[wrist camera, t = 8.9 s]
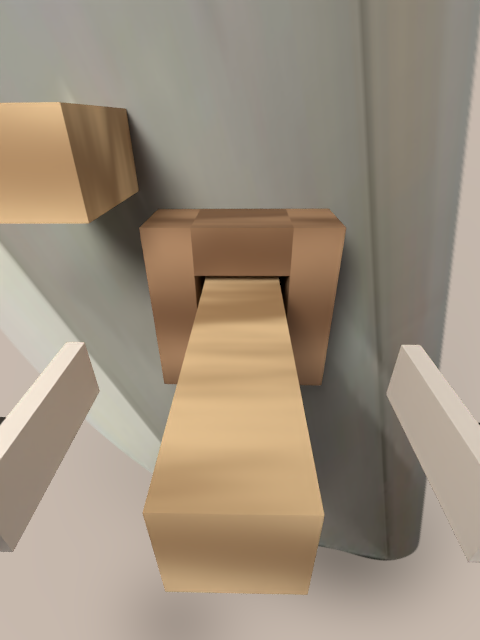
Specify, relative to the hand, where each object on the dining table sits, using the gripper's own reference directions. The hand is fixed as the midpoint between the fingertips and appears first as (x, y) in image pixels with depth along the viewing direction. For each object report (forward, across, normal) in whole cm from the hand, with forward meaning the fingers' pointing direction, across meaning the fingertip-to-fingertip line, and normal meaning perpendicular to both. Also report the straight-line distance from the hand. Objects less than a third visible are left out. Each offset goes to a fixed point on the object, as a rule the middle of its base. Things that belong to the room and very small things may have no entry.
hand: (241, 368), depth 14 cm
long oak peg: (+9, 0, 0) cm, 9 cm away
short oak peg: (+9, -8, +8) cm, 14 cm away
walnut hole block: (+9, 0, 0) cm, 9 cm away
